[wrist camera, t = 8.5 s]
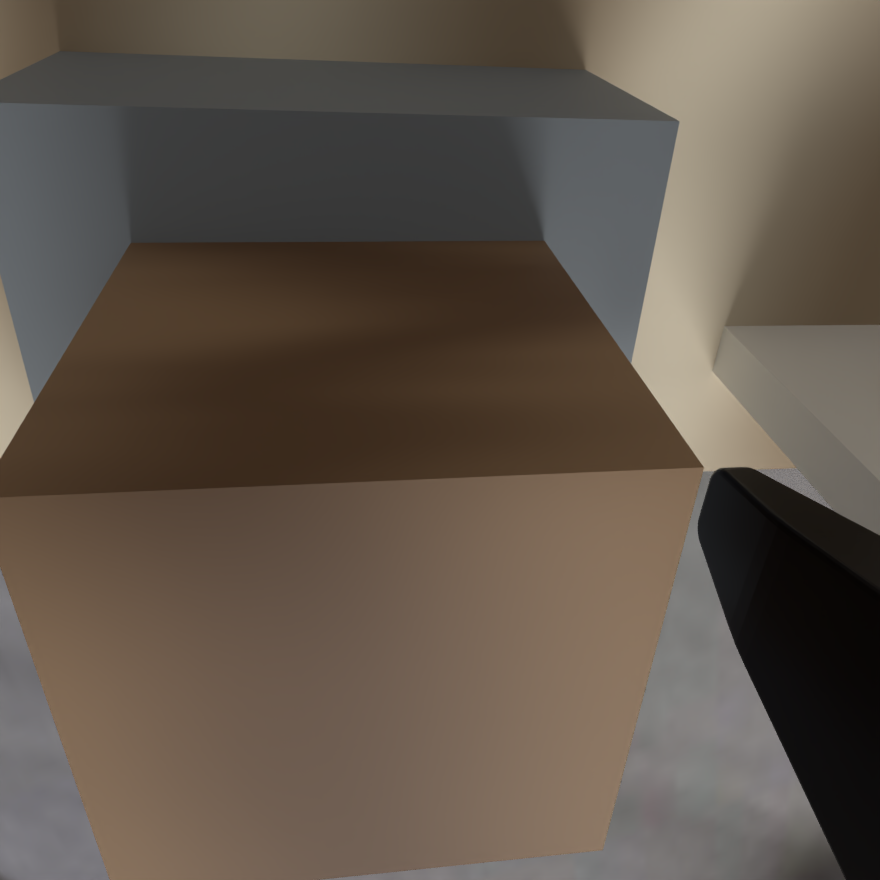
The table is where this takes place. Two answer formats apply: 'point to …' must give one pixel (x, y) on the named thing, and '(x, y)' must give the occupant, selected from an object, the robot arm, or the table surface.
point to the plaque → (815, 404)
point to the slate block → (316, 170)
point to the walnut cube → (343, 557)
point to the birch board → (645, 77)
